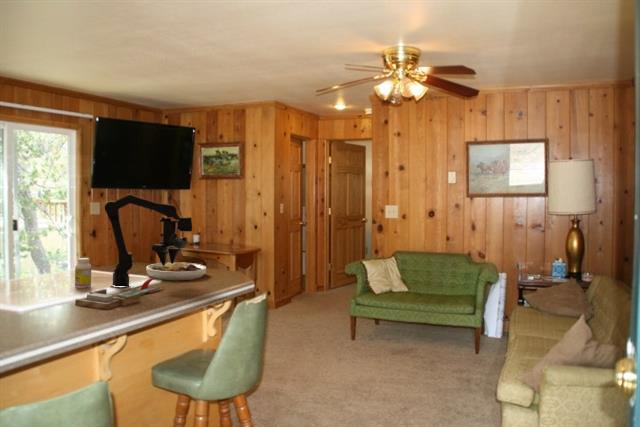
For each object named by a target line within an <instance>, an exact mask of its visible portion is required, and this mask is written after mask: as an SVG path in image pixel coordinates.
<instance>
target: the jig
mask: <svg viewBox="0 0 640 427" xmlns="http://www.w3.org/2000/svg"><path fill="white" fill-rule="evenodd" d="M107 292H108V289H106V288H103V289H102V288H101V289H99V290H95V291H93V290H92V291H89V293H86V297H82V298H76V299H74V300H75V303H74V304H75V306H82V307H89V308H96V309H102V310H103V309H104V310H109V309H112V308H115V307H118V306H122V305H123V306H124V305H125V306H128V305H131V304H135V303H137V302H140V300H141V298H140V296H141V295H140V294H138V293H136V294H133V295H129V296H125V297H124V298H119V297H116V296H113V301H110V302H107V303H104V302H97V301H90V300H87V295H88V294H92V293H99V294H106V295H108V294H107ZM134 302H135V303H134ZM127 304H128V305H127ZM125 306H124V307H125Z"/></svg>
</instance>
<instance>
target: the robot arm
mask: <svg viewBox="0 0 640 427" xmlns="http://www.w3.org/2000/svg"><path fill="white" fill-rule="evenodd" d="M129 204H132V205H135V206H137V207H141V208H145V209H147V210H148V209H149V210H152V211H155V212H157V213H159V214H160V215H162V216H161V218H159V219H158V221H159V223H162V232H161V233H160V236H162V238H161V239H162V241H160V243H155V244H152V245H151V249H150V250H151V251H153V252H154V253H156V255H157V256H158V259H159V260H160V263H162V265H165V263H167V262H166V261H167V255H168V256H169V261H170V262H171V264H173V263H175V260H176V257H177V254H178V253H179V252H180V251H181V250H182V249H185V247H186V245H189V244H188V238H187V237H185V236H184V237H178V236H179V235H178V233H176V230H178V232H182V233H183V232H187V233H189V232H190V233H192V231H193V222H192V219H193V218H192V217H180V215H178V213H177V208H176V207H175V206H174V205H173V204H168V203H161V202H160V203H159V202H155V201H153V200H152V201H151V200H148V199H145V198H142V197H138V196H136V195H133V194H126V195H125V196H123V197H121V198H119V199H116V200H110V201H107V202H106V204H105V205H104V211H105V213H106V215H107V217H108V219H109V221H110V223H111V228H112V232H113V235H114V240H115V243H116V247H117V251H118V263H117V264H116V265H115V266H114V269H113V273H112V285H115V286H128V287H130V286H129V285H130V273H129V272H128V271H130V270H131V269H132V267H133V263H134V262H135V260H134V258H133V254H132V251H130V252H129V251H128V249H127V245H126V242H125V238H124V233H123V231H122V230H123V229H122V225H121V222H120V210H119V209H122V208H123V207H125V206H127V205H129ZM164 216H165V217H164ZM172 218H173V219H175V220H172ZM170 262H169V263H170Z"/></svg>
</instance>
